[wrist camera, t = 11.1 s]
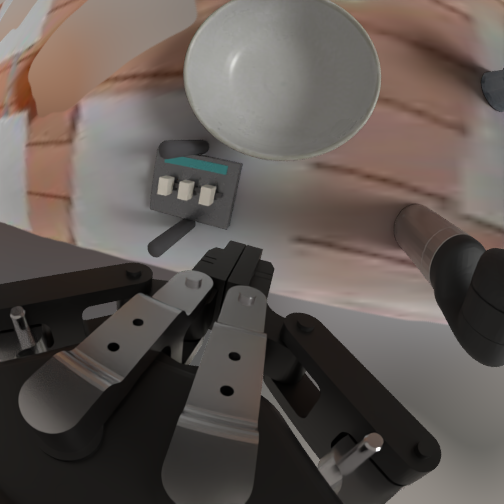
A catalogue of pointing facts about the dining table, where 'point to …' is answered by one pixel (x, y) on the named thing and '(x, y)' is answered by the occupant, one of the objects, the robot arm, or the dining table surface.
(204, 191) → the paddles
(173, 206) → the panel
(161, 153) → the dark gray rounded rod
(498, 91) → the moka pot
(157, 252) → the cord post
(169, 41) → the dining table surface
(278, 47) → the decorative bowl
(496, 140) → the dining table surface
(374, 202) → the dining table surface
